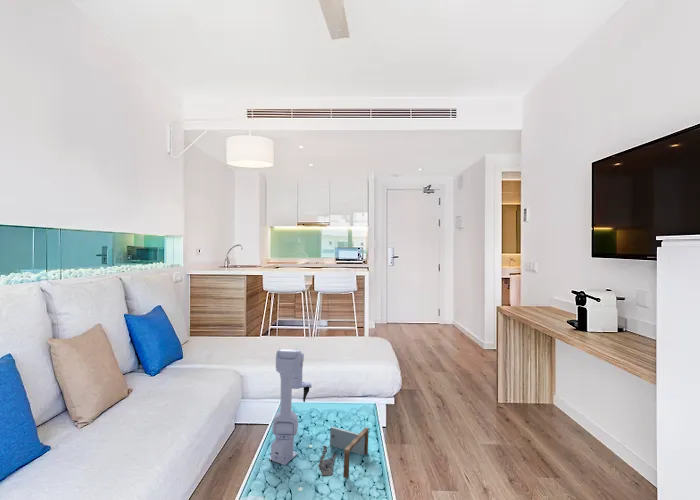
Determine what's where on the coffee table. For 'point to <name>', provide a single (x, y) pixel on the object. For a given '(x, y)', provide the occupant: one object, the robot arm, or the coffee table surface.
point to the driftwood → (326, 463)
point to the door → (346, 440)
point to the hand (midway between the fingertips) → (296, 401)
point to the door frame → (350, 447)
